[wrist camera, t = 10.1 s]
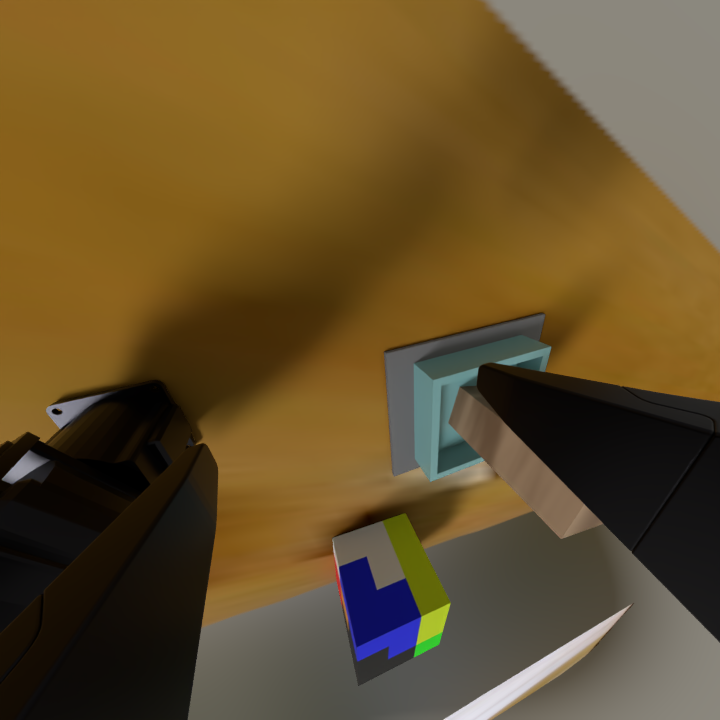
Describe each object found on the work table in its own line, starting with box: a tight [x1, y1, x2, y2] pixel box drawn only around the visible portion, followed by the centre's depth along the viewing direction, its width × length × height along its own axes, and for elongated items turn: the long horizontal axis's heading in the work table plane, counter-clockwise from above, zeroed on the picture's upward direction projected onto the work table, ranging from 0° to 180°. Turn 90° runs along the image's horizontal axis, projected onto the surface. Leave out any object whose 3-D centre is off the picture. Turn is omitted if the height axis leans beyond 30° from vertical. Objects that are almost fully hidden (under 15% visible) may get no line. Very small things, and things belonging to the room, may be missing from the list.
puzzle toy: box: [332, 513, 450, 686], centre depth 31 cm, size 10×10×10 cm
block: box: [448, 386, 603, 539], centre depth 22 cm, size 4×4×12 cm
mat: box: [384, 313, 545, 476], centre depth 29 cm, size 18×16×1 cm
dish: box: [414, 335, 551, 482], centre depth 27 cm, size 13×13×3 cm
